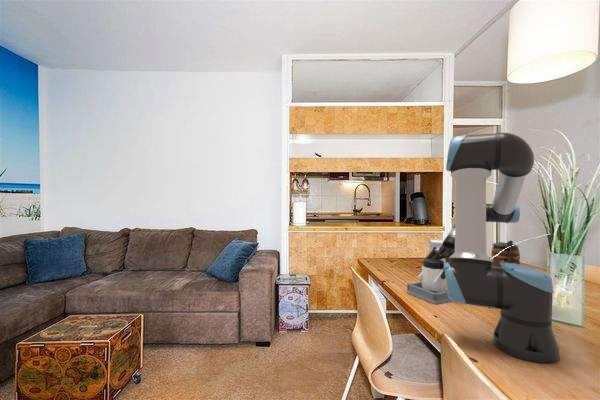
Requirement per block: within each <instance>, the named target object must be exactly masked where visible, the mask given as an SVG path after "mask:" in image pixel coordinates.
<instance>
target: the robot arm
mask: <svg viewBox="0 0 600 400" xmlns="http://www.w3.org/2000/svg"><path fill="white" fill-rule="evenodd" d="M448 145H449V146H448V150H447V151H448V152H447V157H446V158H447V159H446V166H445V169H446V171H447V172H450V177H451V178H453V179H454V180H455V196H454V197H455V201H454V203H455V205H454V206H455V207H454V210H455V211H454V212H455V214H454V215H455V217H454V218H455V219H454V225H453V227H452V228H451V230H450V231H449V232H448V233H447V236H446V237H445V238H444V240H443V245H442V246H441V247H440V248H436V247H434V248H433V250H432V251H431V252H430V254H429V253H428V254H427V256H426V257H425V258H424V259H438V260H440V259H443V258H446V262H445V264H444V268H443V269H444V270H441V272H440V273H439V275H438V276H437V278H436V279H435V281H434V283H435V284H436V285H437V286H439V285H440V283H441V282H442V280H443V279H445V285H446V291H447V293H448V297H449V299H450V300H451V301H450V302H453V303H458V304H463V305H465V306H467V305H469V306H477V307H478V306H479V307H484V308H490V309H497V310H500V317H499V320H498V322H497V323H496V326H495V329H494V331H493V335H492V342H493V343H492V344H493V345H494V346H495V347H496V348H497V349H499V350H500V351H502V352H504V353H505V354H507V355H510V356H512V357H515V358H518V359H521V360H523V361H528V362H533V363H538V364H539V363H541V364H550V363H551V364H552V363H555V362H557V361H559V360H560V350H561V349H560V347H559V344H558V341H557V338H556V336H555V333H554V330H553V325H552V322H553V293H554V291H555V290H554V286H553V278H552V277H551V275H550V274H549V273H547V272H545V270H542V269H538V268H537V267H532V266H529V265H525V264H524V265H523V264H514V263H503V264H502V266H501V268H494V267H492V260H491V258H490V257H489V256H488V255H487V223H489V222H490V223H505V224H510V223H511V224H513V223H514V224H515V223H518V222H519V220H520V216H521V210H520V206H519V205H518V204H517V203H518V200H519V198H520V195H521V191H522V188H523V185H524V184H525V183H524V181H525V179H526V177H527V176H528V175H529V174H530V173H531V171H532V170H533V167H534V163H535V155H534V152H533V150H532V148H531V146H530V144H528V142H527V141H526V140H524V139H523V138H522V137H520V136H518V135H516V134H514V133H510V132H496V133H495V132H494V133H483V134H481V133H480V134H465V135H457V136H456V135H455V136H454V137H452V138H451V140H450V141H449V144H448ZM494 170H495V171H497V170H498V171H499V172H498V177H497V183H496V187H495V191H494V197H493V202H492V203H487V198H486V197H487V179H488V178H489V177H491V176H492V171H494ZM439 254H440V255H441V256H440V255H439ZM421 263H422V264H423V260H422V262H421ZM417 277H418V279H419V280H420V282H422V269H421V270H420V273H419V275H418V276H417Z"/></svg>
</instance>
